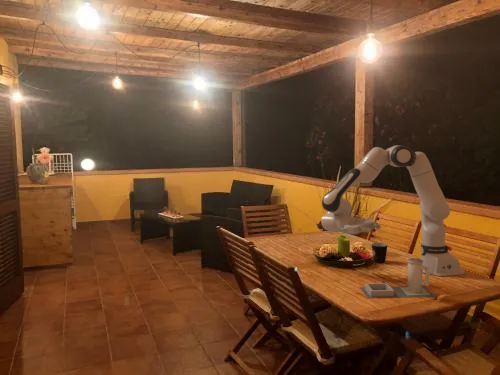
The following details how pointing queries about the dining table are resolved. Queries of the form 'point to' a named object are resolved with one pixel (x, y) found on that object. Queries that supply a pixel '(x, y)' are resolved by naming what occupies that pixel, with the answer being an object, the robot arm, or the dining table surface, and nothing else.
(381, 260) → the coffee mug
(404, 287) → the stand board
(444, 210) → the robot arm
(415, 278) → the jug
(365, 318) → the dining table surface
